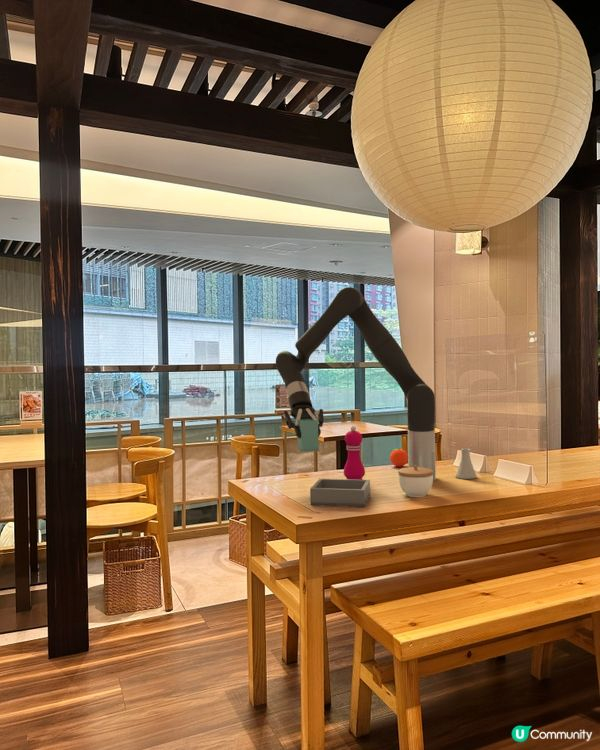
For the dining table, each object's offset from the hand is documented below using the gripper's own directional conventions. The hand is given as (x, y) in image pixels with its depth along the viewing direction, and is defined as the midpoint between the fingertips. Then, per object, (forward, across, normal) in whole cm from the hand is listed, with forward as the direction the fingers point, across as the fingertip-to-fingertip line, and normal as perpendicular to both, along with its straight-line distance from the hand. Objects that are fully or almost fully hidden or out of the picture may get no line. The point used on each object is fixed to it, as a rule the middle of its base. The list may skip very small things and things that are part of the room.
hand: (309, 436), depth 195 cm
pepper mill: (+11, +16, +14) cm, 24 cm away
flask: (+14, +57, +12) cm, 60 cm away
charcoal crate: (+24, +5, +1) cm, 24 cm away
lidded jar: (+25, +29, 0) cm, 39 cm away
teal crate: (+2, 0, +5) cm, 5 cm away
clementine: (-5, +43, +31) cm, 53 cm away
